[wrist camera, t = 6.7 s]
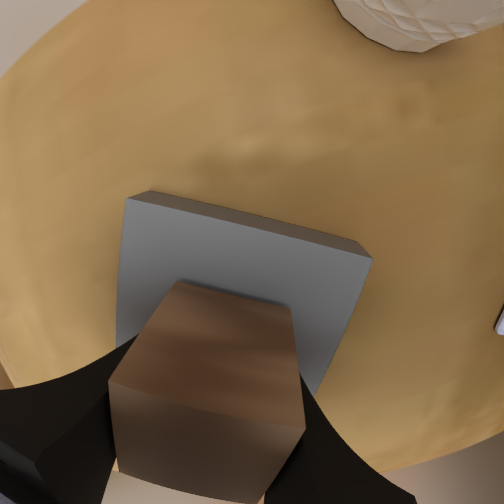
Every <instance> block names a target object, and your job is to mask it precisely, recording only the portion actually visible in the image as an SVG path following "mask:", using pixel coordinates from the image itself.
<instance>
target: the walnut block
mask: <svg viewBox="0 0 504 504" xmlns="http://www.w3.org/2000/svg"><path fill="white" fill-rule="evenodd" d="M108 384H109V397H110V409H111V419H112V427H113V435H114V443H115V450H116V456H117V462H118V468H119V472H121V473H124V474H126V475H129V476H132V477H135V478H138V479H141V480H144V481H147V482H150V483H153V484H157V485H160V486H164V487H167V488H171V489H175V490H178V491H183V492H186V493H191V494H195V495H199V496H205V497H209V498H214V499H220V500H225V501H231V502H238V503H245V504H257V503H258V502H259V500H260V499H261V497H262V496H263V495H264V493H265V492H266V490H267V489H268V488H269V486H270V485H271V483H272V482H273V480H274V479H275V477H276V476H277V474H278V473H279V471H280V470H281V468H282V467H283V465H284V464H285V462H286V460H287V459H288V457H289V456H290V454H291V452H292V451H293V449H294V448H295V446H296V444H297V443H298V441H299V439H300V438H301V436H302V434H303V433H304V431H305V429H306V425H305V416H304V407H303V399H302V391H301V383H300V375H299V367H298V360H297V352H296V345H295V337H294V330H293V323H292V316H291V309H289V308H285V307H280V306H276V305H271V304H267V303H263V302H259V301H254V300H250V299H246V298H242V297H238V296H234V295H229V294H225V293H221V292H217V291H213V290H210V289H206V288H202V287H198V286H194V285H190V284H186V283H183V282H179V281H176V282H175V283H174V285H173V286H172V288H171V289H170V290H169V292H168V293H167V295H166V296H165V297H164V299H163V300H162V302H161V303H160V305H159V306H158V307H157V309H156V310H155V312H154V313H153V315H152V316H151V317H150V319H149V320H148V322H147V323H146V325H145V326H144V328H143V329H142V331H141V332H140V333H139V335H138V336H137V338H136V339H135V341H134V342H133V344H132V345H131V347H130V348H129V350H128V351H127V353H126V354H125V356H124V357H123V359H122V360H121V362H120V363H119V365H118V366H117V368H116V369H115V371H114V372H113V374H112V375H111V377H110V378H109V380H108Z"/></svg>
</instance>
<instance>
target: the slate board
mask: <svg viewBox="0 0 504 504" xmlns="http://www.w3.org/2000/svg"><path fill="white" fill-rule="evenodd" d="M372 261H373V258H372V257H371V256H370V255H369V254H368V253H367V252H366V251H365V250H364V249H363V248H362V247H361V246H360V245H359V244H358V243H357V242H356V241H352V240H349V239H345V238H341V237H338V236H334V235H330V234H327V233H323V232H319V231H315V230H312V229H308V228H304V227H300V226H296V225H293V224H289V223H285V222H281V221H277V220H273V219H269V218H265V217H261V216H257V215H253V214H249V213H245V212H241V211H237V210H232V209H228V208H224V207H220V206H216V205H211V204H207V203H203V202H198V201H194V200H190V199H185V198H181V197H176V196H172V195H167V194H162V193H158V192H153V191H146V192H143V193H140V194H137V195H134V196H131V197H128V198H126V205H125V212H124V220H123V229H122V238H121V248H120V259H119V273H118V289H117V314H116V348H118V347H119V346H121V345H122V344H124V343H125V342H127V341H128V340H130V339H131V338H133V337H134V336H136V335H137V334H139V333H140V332H141V331H142V329H143V328H144V326H145V325H146V323H147V322H148V320H149V319H150V317H151V316H152V315H153V313H154V312H155V310H156V309H157V307H158V306H159V305H160V303H161V302H162V300H163V299H164V297H165V296H166V295H167V293H168V292H169V290H170V289H171V288H172V286H173V285H174V283H175V282H176V281H179V282H183V283H186V284H190V285H194V286H198V287H202V288H206V289H210V290H213V291H217V292H221V293H225V294H229V295H234V296H238V297H242V298H246V299H250V300H254V301H259V302H263V303H267V304H271V305H276V306H280V307H285V308H289V309H291V316H292V323H293V330H294V337H295V345H296V352H297V360H298V367H299V372H300V374H301V376H302V378H303V379H304V381H305V383H306V385H307V387H308V389H309V390H310V392H311V394H312V396H313V397H314V395H315V393H316V391H317V389H318V387H319V385H320V383H321V381H322V379H323V377H324V375H325V373H326V371H327V369H328V367H329V365H330V363H331V361H332V358H333V356H334V354H335V352H336V350H337V348H338V345H339V343H340V341H341V339H342V336H343V334H344V332H345V329H346V327H347V325H348V322H349V320H350V318H351V315H352V313H353V310H354V308H355V306H356V303H357V301H358V298H359V296H360V293H361V290H362V288H363V285H364V283H365V280H366V277H367V275H368V272H369V269H370V267H371V264H372Z"/></svg>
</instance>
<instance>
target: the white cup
mask: <svg viewBox="0 0 504 504" xmlns="http://www.w3.org/2000/svg"><path fill="white" fill-rule="evenodd" d="M333 1H334V2H335V4H336V6H337V8H338V9H339V11H340V13H341V15H342V16H343V17H344V18H345V19H346V20H347V21H348V22H350V23H351V24H352V25H353V26H354V27H356V28H357V29H358V30H359V31H360V32H361V33H362V34H364V35H365V36H366V37H367V38H369V39H372V40H374V41H376V42H378V43H381V44H383V45H385V46H387V47H389V48H391V49H393V50H397V51H409V52H419V53H422V52H425V51H427V50H429V49H431V48H434V47H436V46H438V45H440V44H442V43H445V42H448V41H451V40H454V39H462V38H464V37H467V36H469V35H473V34H476V33H480V32H482V31H485V30H487V29H490V28H493V27H496V26H498V25H501V24H504V0H333Z"/></svg>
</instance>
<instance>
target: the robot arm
mask: <svg viewBox="0 0 504 504" xmlns="http://www.w3.org/2000/svg"><path fill="white" fill-rule="evenodd" d="M495 331H496V332H497V333H498V334H499V335H504V310H503V312H502V314H501V316H500V318H499V320H498V322H497V325H496V327H495ZM138 335H139V334H137V335H136V336H134V337H133V338H131V339H130V340H128V341H127V342H125V343H124V344H122V345H121V346H119V347H118V348H116V349H115V350H113V351H111V352H110V353H108V354H107V355H105V356H103V357H102V358H100V359H98V360H96V361H94V362H92V363H91V364H89V365H87V366H85V367H83V368H81V369H79V370H77V371H74V372H72V373H70V374H67V375H65V376H62V377H59V378H56V379H53V380H49V381H46V382H43V383H39V384H35V385H31V386H26V387H21V388H14V389H7V390H0V504H101V502H102V499H103V495H104V492H105V488H106V485H107V482H108V479H109V476H110V473H111V470H112V468H113V465H114V462H115V459H116V457H117V456H116V450H115V443H114V435H113V427H112V419H111V409H110V397H109V384H108V380H109V378H110V377H111V375H112V374H113V372H114V371H115V369H116V368H117V366H118V365H119V363H120V362H121V360H122V359H123V357H124V356H125V354H126V353H127V351H128V350H129V348H130V347H131V345H132V344H133V342H134V341H135V339H136V338H137V336H138ZM299 375H300V383H301V391H302V399H303V407H304V416H305V425H306V429H305V431H304V433H303V434H302V436H301V438H300V439H299V441H298V443H297V444H296V446H295V448H294V449H293V451H292V452H291V454H290V456H289V457H288V459H287V460H286V462H285V464H284V465H283V467H282V468H281V470H280V471H279V473H278V474H277V476H276V477H275V479H274V480H273V482H272V483H271V485H270V486H269V488H268V489H267V490H266V492H265V497H264V504H417V502H416V499H415V496H414V495H412V494H410V493H408V492H406V491H405V490H403V489H401V488H400V487H398V486H396V485H395V484H393V483H391V482H390V481H388V480H387V479H386V478H384V477H383V476H382V475H380V474H379V473H378V472H376V471H375V470H374V469H373V468H371V467H370V466H369V465H368V464H367V463H366V462H365V461H363V460H362V459H361V458H360V457H359V456H358V455H357V454H356V453H355V452H354V451H353V450H352V449H351V448H350V447H349V446H348V445H347V443H346V442H345V441H344V440H343V439H342V438H341V437H340V436H339V434H338V433H337V432H336V431H335V429H334V428H333V427H332V425H331V424H330V422H329V421H328V420H327V418H326V417H325V415H324V414H323V412H322V411H321V409H320V407H319V406H318V404H317V402H316V401H315V399H314V397H313V396H312V394H311V392H310V390H309V389H308V387H307V385H306V383H305V381H304V379H303V378H302V376H301V374H300V372H299Z"/></svg>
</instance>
